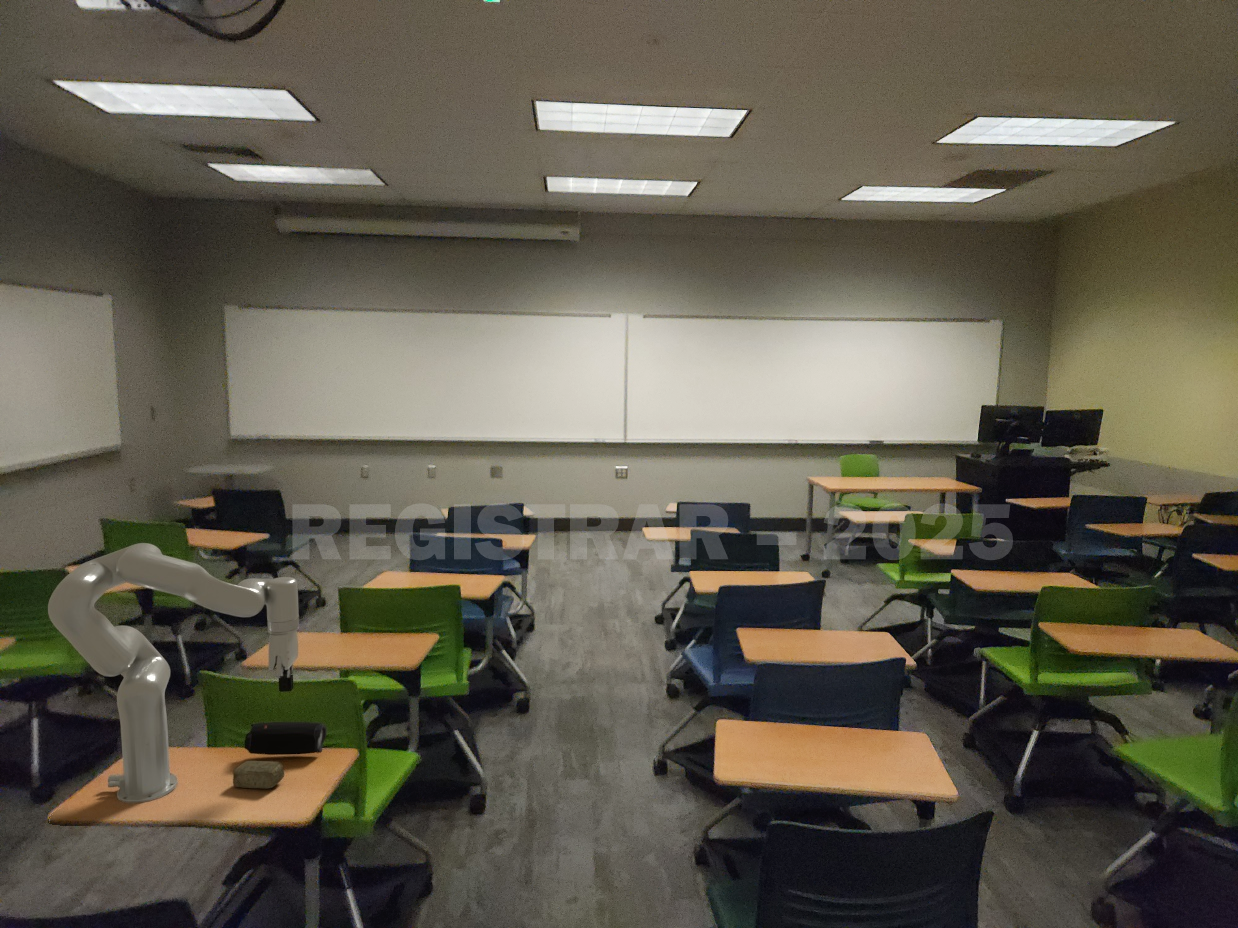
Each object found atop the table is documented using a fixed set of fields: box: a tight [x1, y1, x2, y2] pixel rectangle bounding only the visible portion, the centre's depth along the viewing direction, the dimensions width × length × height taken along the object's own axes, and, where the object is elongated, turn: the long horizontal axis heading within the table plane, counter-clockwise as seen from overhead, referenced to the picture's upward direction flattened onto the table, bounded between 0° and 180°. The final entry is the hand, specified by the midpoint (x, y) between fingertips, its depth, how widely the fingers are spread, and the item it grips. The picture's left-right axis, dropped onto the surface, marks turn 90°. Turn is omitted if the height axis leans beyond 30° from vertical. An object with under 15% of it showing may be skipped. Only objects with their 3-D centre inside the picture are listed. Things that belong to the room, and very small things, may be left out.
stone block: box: [232, 760, 285, 789], centre depth 179 cm, size 6×12×5 cm, turn 83°
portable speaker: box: [243, 721, 328, 756], centre depth 195 cm, size 9×9×20 cm
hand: (286, 689), depth 186 cm, fingers closed
